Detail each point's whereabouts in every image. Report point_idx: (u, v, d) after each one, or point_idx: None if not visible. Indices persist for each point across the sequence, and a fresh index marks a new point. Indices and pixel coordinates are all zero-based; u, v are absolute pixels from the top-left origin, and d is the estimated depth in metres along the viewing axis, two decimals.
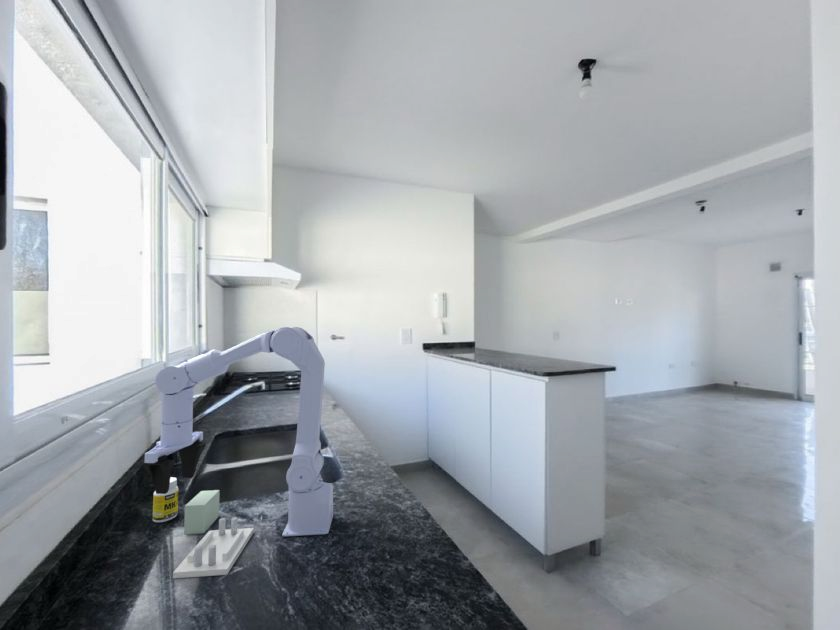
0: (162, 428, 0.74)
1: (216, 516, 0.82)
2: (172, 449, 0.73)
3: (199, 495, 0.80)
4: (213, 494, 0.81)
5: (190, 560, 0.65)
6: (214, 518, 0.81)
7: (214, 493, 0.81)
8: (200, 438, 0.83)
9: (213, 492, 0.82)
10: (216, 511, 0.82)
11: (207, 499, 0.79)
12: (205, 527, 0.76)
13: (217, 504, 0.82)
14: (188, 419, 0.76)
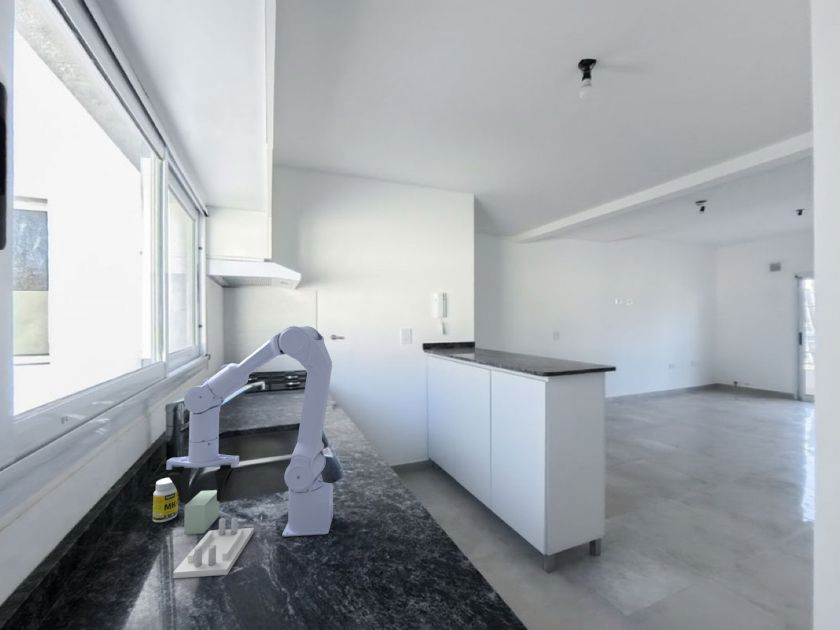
0: None
1: (216, 516, 0.82)
2: (181, 464, 0.77)
3: (199, 495, 0.80)
4: (213, 494, 0.81)
5: (190, 560, 0.65)
6: (214, 518, 0.81)
7: (214, 493, 0.81)
8: (231, 464, 0.79)
9: (213, 492, 0.82)
10: (216, 511, 0.82)
11: (207, 499, 0.79)
12: (205, 527, 0.76)
13: (217, 504, 0.82)
14: (214, 437, 0.79)
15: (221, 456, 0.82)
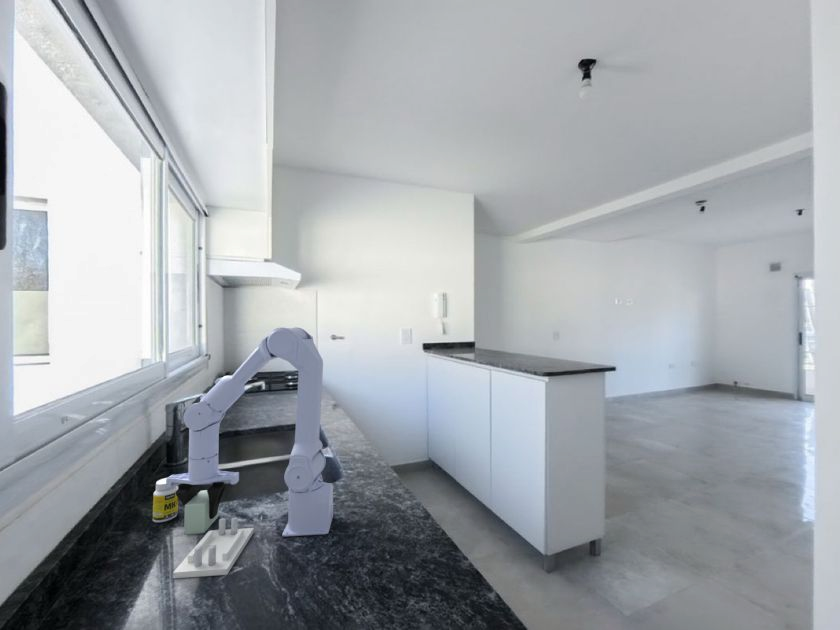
0: None
1: (216, 516, 0.82)
2: (181, 481, 0.77)
3: (199, 495, 0.80)
4: None
5: (190, 560, 0.65)
6: (214, 518, 0.81)
7: None
8: (231, 481, 0.79)
9: None
10: None
11: (207, 499, 0.79)
12: (204, 527, 0.76)
13: None
14: (213, 454, 0.79)
15: (221, 472, 0.82)
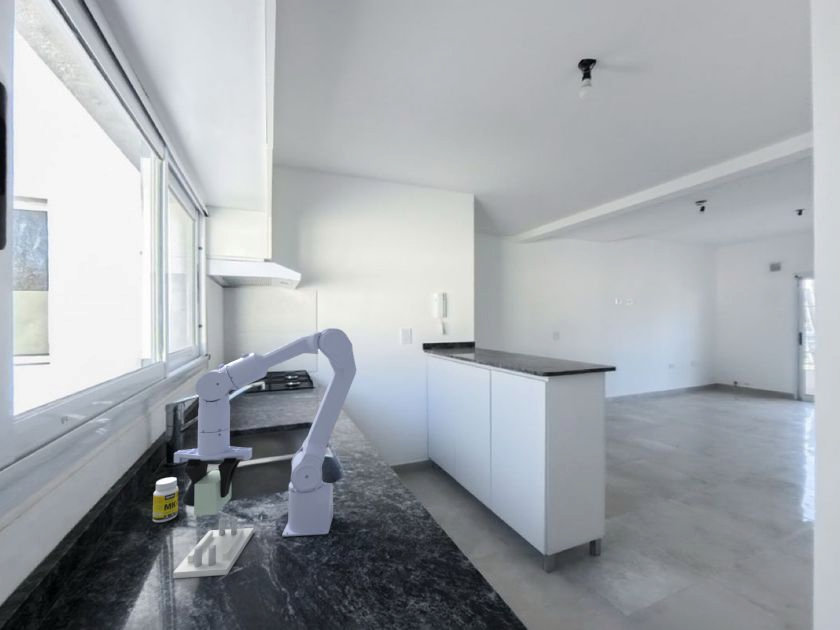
0: None
1: (228, 497, 0.75)
2: (189, 456, 0.71)
3: (210, 474, 0.74)
4: None
5: (190, 560, 0.65)
6: (226, 499, 0.74)
7: None
8: (244, 457, 0.73)
9: None
10: None
11: (218, 478, 0.72)
12: (216, 508, 0.70)
13: (230, 485, 0.76)
14: (228, 426, 0.74)
15: (233, 448, 0.75)
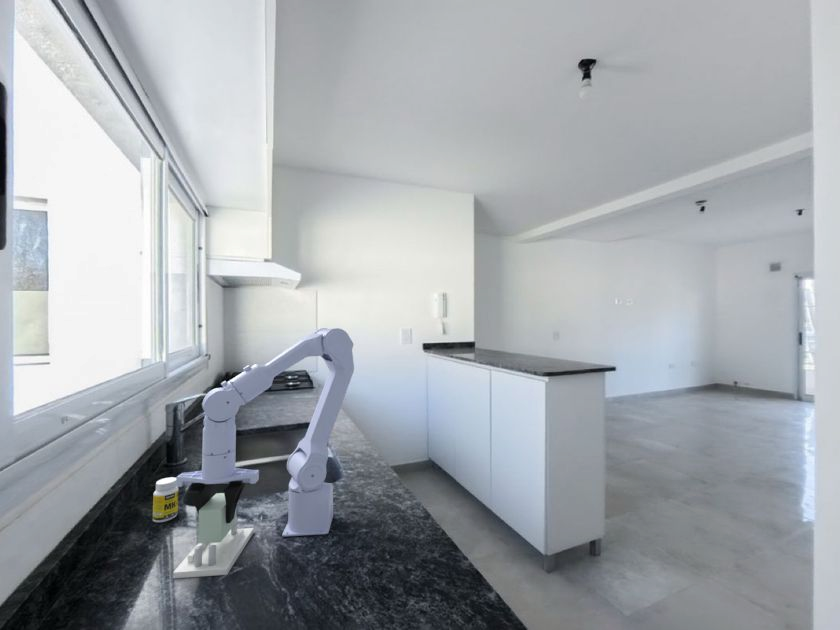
0: None
1: (233, 522, 0.72)
2: (193, 480, 0.67)
3: (214, 498, 0.71)
4: None
5: (190, 560, 0.65)
6: (231, 524, 0.71)
7: None
8: (250, 480, 0.69)
9: None
10: None
11: (224, 503, 0.69)
12: (221, 535, 0.67)
13: None
14: (235, 446, 0.71)
15: (238, 470, 0.72)
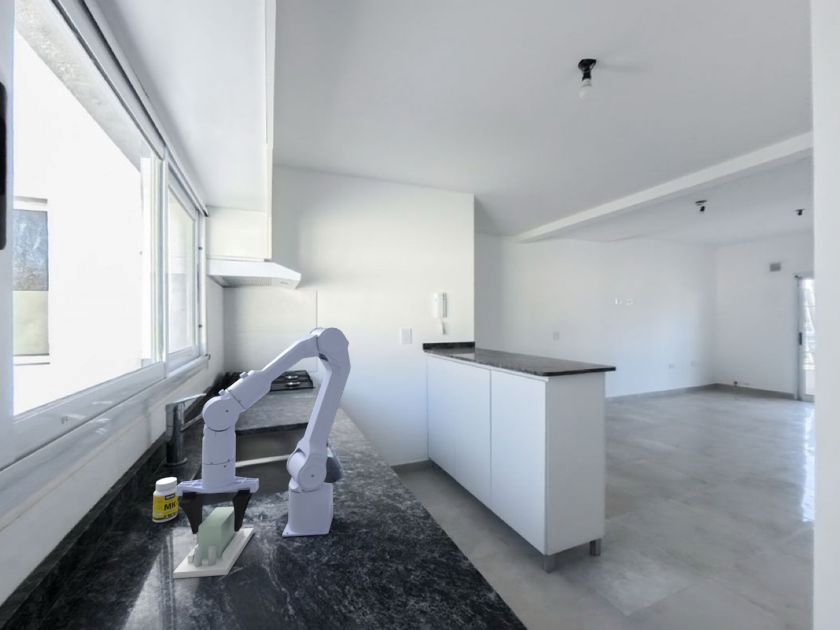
0: None
1: (233, 536, 0.72)
2: (193, 489, 0.67)
3: (214, 513, 0.71)
4: (230, 512, 0.71)
5: (190, 560, 0.65)
6: (231, 539, 0.71)
7: (231, 510, 0.72)
8: (250, 489, 0.69)
9: (229, 508, 0.72)
10: (233, 530, 0.72)
11: (224, 518, 0.69)
12: (221, 551, 0.66)
13: None
14: None
15: (238, 479, 0.72)
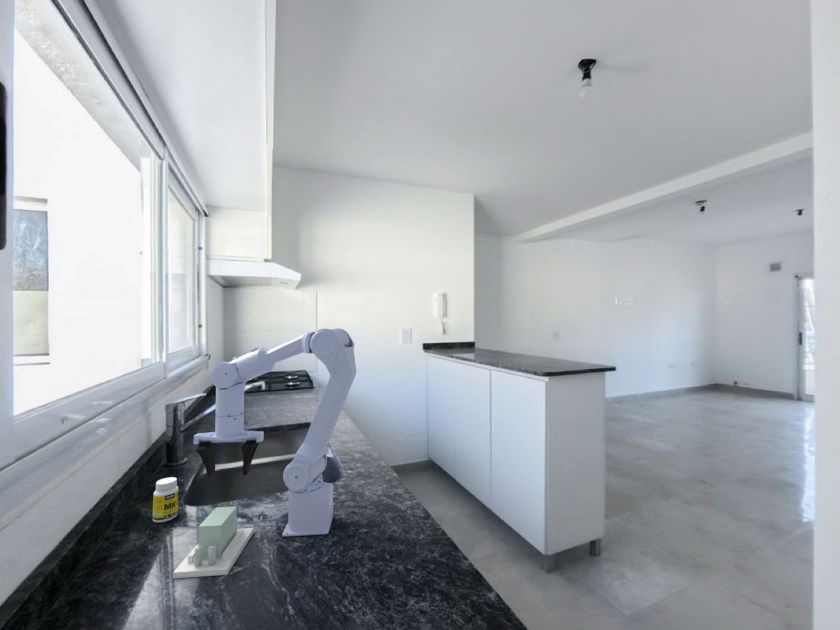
0: None
1: (233, 536, 0.72)
2: (208, 438, 0.79)
3: (214, 513, 0.71)
4: (230, 512, 0.71)
5: (190, 560, 0.65)
6: (231, 539, 0.71)
7: (231, 510, 0.72)
8: (257, 439, 0.81)
9: (229, 508, 0.72)
10: (233, 530, 0.72)
11: (224, 518, 0.69)
12: (221, 551, 0.66)
13: (235, 523, 0.72)
14: (239, 413, 0.81)
15: (246, 432, 0.83)
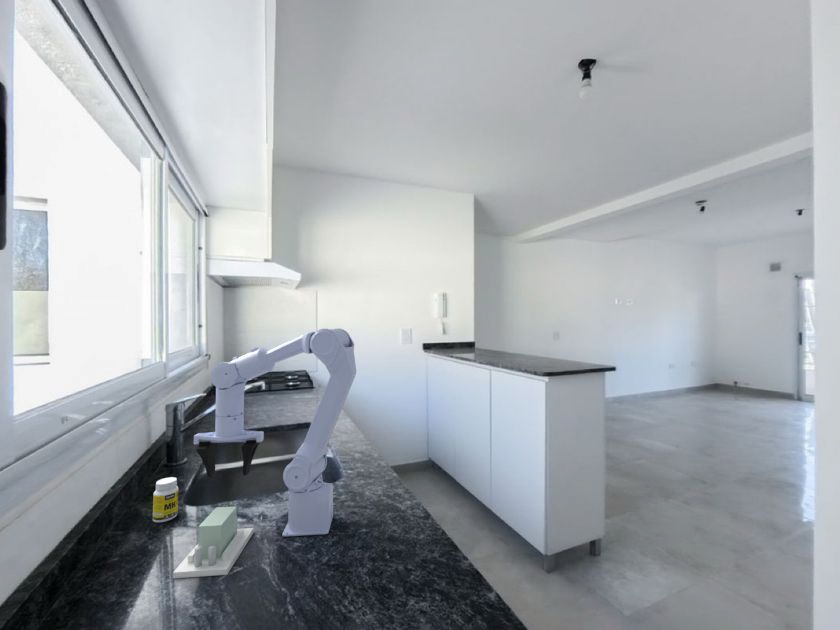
0: None
1: (233, 536, 0.72)
2: (208, 438, 0.79)
3: (214, 513, 0.71)
4: (230, 512, 0.71)
5: (190, 560, 0.65)
6: (231, 539, 0.71)
7: (231, 510, 0.72)
8: (257, 439, 0.81)
9: (229, 508, 0.72)
10: (233, 530, 0.72)
11: (224, 518, 0.69)
12: (221, 551, 0.66)
13: (235, 523, 0.72)
14: (239, 413, 0.81)
15: (246, 432, 0.83)
